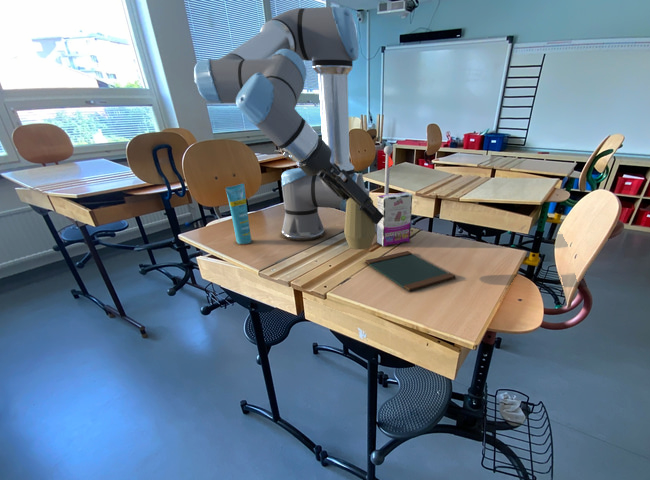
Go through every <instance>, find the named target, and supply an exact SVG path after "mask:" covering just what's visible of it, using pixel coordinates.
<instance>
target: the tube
mask: <svg viewBox="0 0 650 480" xmlns="http://www.w3.org/2000/svg"><path fill="white" fill-rule="evenodd" d="M225 193H226V196H227V201H228V205H229V209H230V214H231V219H232V224H233V230H234V235H235V240H236V243H237V244H238V245H247V244H250V243H252V235H251V229H250V221H249V213H248V205H247V198H246V197H247V196H246V188H245V183H244V182H243V183H240V184H236V185H232V186H231V185H230V186H226V187H225Z"/></svg>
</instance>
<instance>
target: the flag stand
mask: <svg viewBox="0 0 650 480" xmlns="http://www.w3.org/2000/svg"><path fill="white" fill-rule="evenodd" d="M383 152H384V154H385V166H384V167H385V170H384V195H388V194H390V193H389V191H390V168H391V166H393V165H394V161H393V159H392V158H391V155H392V153H393V147H392V146H391V145H386V146H384V148H383ZM375 232H376V233H375V234H377V224H375Z"/></svg>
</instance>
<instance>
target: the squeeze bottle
mask: <svg viewBox="0 0 650 480" xmlns="http://www.w3.org/2000/svg"><path fill="white" fill-rule="evenodd" d="M356 184H357V185H358V186H359V187H360V188H361V189H362V190H363V191H364V192H365V193H366V194H367V195H368V196H369V197H370V189H369V188H366V185H365V181H364V175H363V173H361V172H360V173H357V178H356ZM370 202H371V203H372V204H373V205H374V200H373V199H372V200H371V201H370ZM359 207H360V206H359V205H358V204H357V203H356V202H355V201H354V200H352V199H351V198H349V199H348V200H347V202H346V208H345V217H344V229H343V230H344V231H343V232H344V233H343V235H344V237H345V239H346V242H347V246H349V248H350V249H352V250H368V249H369V248H371V247H372V244H373V242H374V239H375V236H376V234H377V233H376V232H375V223H374V222H373V221H372V220H371V218H370V217H369V216H368V215H367V214H366V213H364V212H363V211H362V210H361V211H360V210H359Z"/></svg>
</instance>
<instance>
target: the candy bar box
mask: <svg viewBox="0 0 650 480" xmlns="http://www.w3.org/2000/svg"><path fill="white" fill-rule="evenodd" d="M376 198H377V199H376V200H377V203H376V208H377V209H378V210H379V211H380V212H381V213H382V214H383V218H382V219H381V220H380V222H379V223H378V224H377V233H376V242H377V244H378V245H380V246H382V248H383V247H391V246H394V245H399V244H405V243H410V242H411V230H412V228H411V227H412V212H413V210H412V209H413V194H411V193H408V192H398V193H392V194H391V193H389V194H388V195H385V194H381V195H377V196H376Z"/></svg>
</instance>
